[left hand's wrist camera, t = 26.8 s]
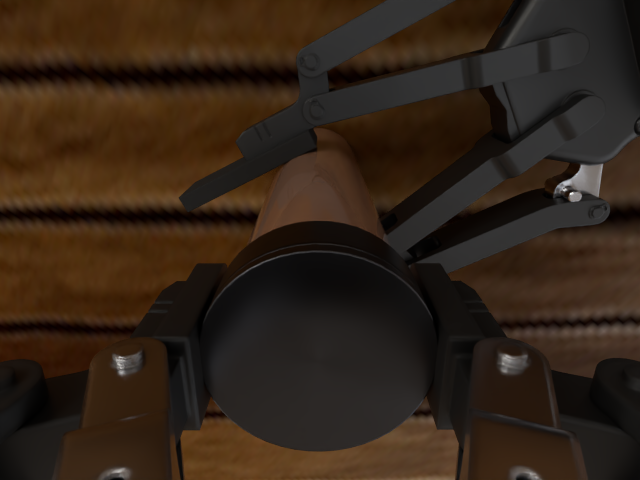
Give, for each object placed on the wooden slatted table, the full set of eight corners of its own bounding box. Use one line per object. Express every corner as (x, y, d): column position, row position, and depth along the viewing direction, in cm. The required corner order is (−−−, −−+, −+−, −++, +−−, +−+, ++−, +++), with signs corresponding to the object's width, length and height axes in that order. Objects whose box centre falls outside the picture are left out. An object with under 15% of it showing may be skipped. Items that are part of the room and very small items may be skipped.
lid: (203, 223, 10) (180, 254, 8) (426, 215, 10) (447, 245, 8) (228, 399, 12) (212, 455, 10) (415, 394, 12) (432, 449, 10)
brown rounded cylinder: (269, 179, 27) (186, 370, 10) (303, 114, 26) (274, 207, 9) (332, 212, 28) (353, 441, 11) (368, 151, 27) (459, 303, 10)
